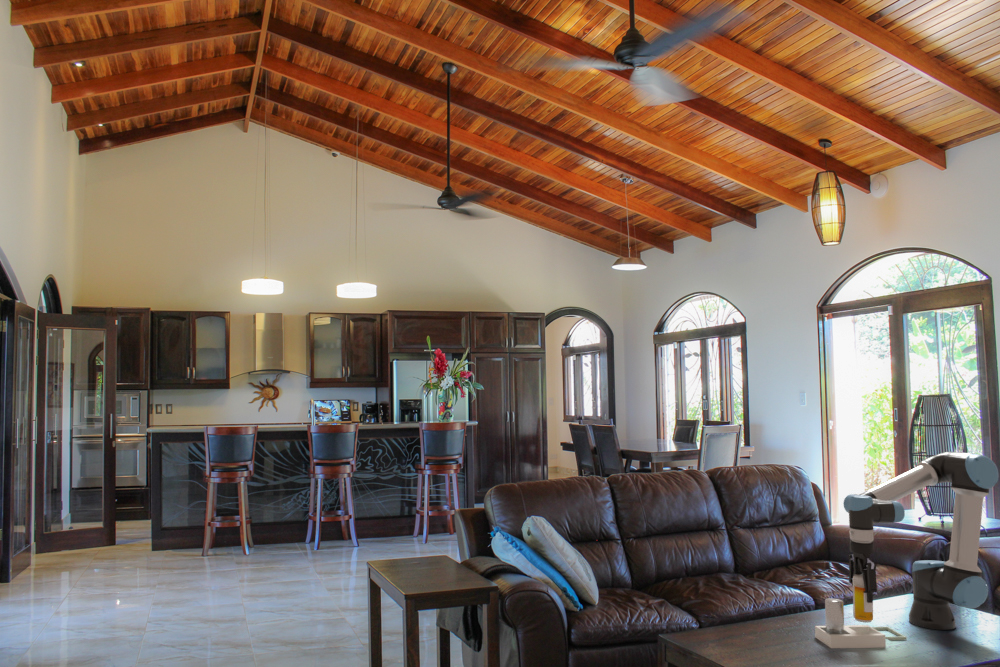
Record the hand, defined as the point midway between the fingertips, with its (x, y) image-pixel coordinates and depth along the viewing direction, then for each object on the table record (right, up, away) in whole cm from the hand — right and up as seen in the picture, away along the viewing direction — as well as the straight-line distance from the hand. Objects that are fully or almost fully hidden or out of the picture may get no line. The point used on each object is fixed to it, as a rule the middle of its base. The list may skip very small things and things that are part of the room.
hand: (863, 608), depth 260 cm
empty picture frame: (+11, -12, +8) cm, 18 cm away
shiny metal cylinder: (-10, -11, -1) cm, 15 cm away
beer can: (0, -4, 0) cm, 4 cm away
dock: (-5, -12, -1) cm, 13 cm away
